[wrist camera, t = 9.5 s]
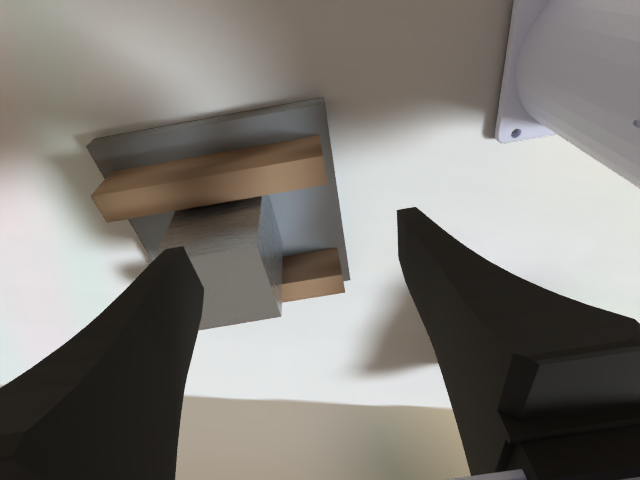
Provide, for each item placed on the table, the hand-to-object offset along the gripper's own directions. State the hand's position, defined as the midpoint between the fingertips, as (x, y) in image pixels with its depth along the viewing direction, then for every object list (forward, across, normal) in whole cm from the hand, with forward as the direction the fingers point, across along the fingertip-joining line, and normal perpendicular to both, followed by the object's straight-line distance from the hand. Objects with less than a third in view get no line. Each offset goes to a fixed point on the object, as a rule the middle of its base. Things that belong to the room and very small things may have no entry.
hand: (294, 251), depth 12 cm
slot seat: (+9, +4, +4) cm, 11 cm away
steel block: (+8, +4, +4) cm, 10 cm away
